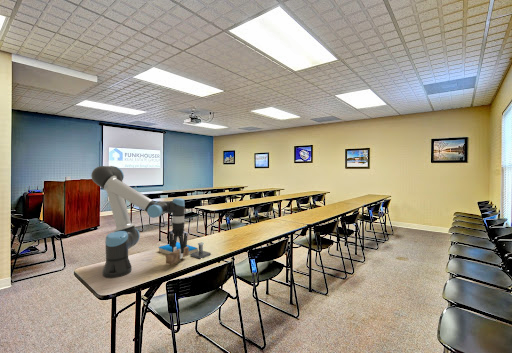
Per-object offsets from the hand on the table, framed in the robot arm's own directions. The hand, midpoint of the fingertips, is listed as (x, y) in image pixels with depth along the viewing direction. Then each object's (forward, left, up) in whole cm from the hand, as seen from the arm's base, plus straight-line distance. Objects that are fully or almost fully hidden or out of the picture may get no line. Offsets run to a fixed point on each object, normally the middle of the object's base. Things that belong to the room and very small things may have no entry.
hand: (177, 257), depth 164 cm
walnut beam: (0, 0, -1) cm, 1 cm away
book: (+14, +19, -4) cm, 24 cm away
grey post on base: (+18, -1, -4) cm, 19 cm away
